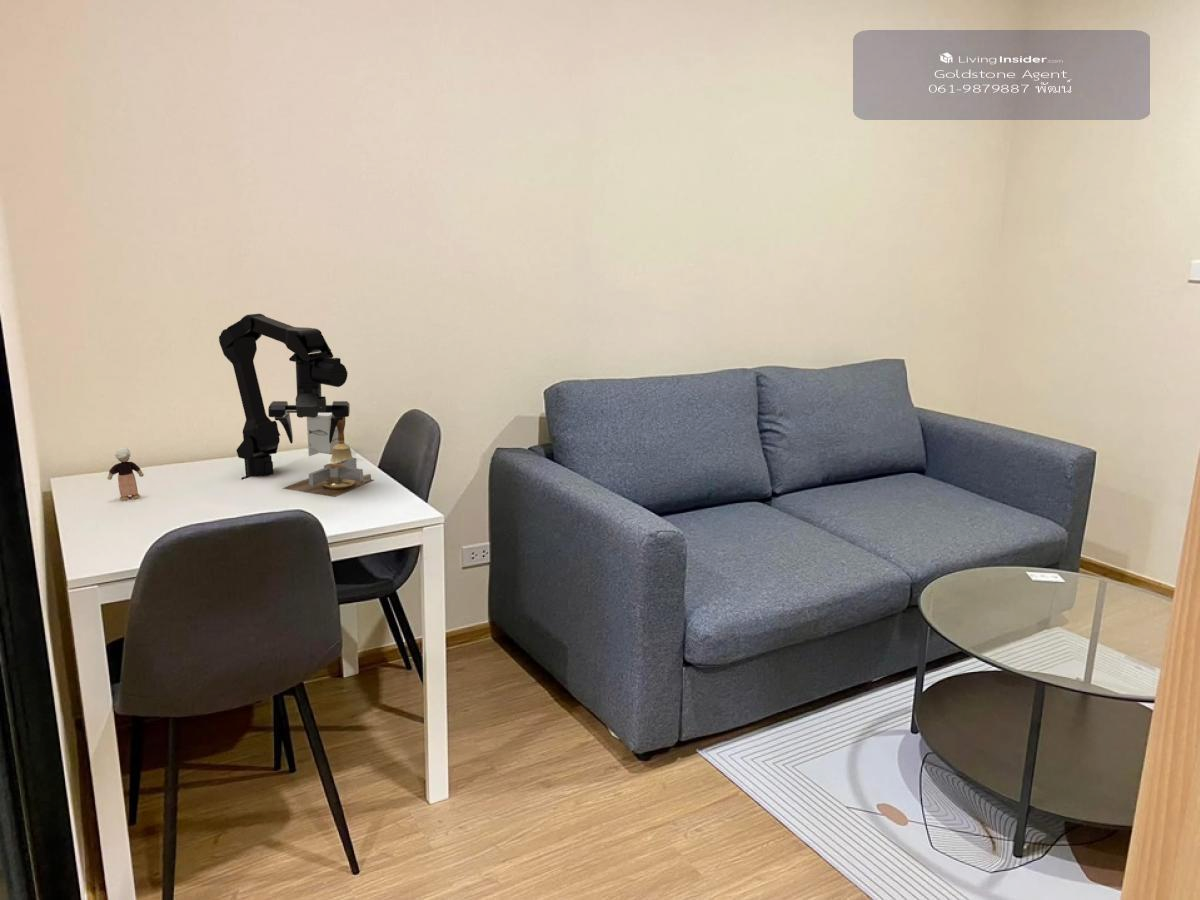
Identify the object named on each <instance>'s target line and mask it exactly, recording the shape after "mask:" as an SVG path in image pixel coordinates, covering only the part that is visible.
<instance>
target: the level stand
mask: <svg viewBox="0 0 1200 900" xmlns="http://www.w3.org/2000/svg"><path fill="white" fill-rule="evenodd" d="M371 474H372V473H371ZM371 474H370V473H368V474H365V475H364V474H363V480H362V481H355V485H354V486H352V487H349V488H344V489H328V488H324V487H323V486H322V482H321V483H318V484H316V485H309V477H308V478H306V479H302V480H300V481H298V482H295V483H292V484H290V485H288V486H284V487H282V490H283V489H284V490H290V491H296V492H301V493H302V492H303V493H310V494H313V495H320V496H326V497H333V498H336V497H338V496H341V495H343V494H346V493H348V492H350V491H352V490H355V489H357V488H360V487H361V486H364V485H367V484H370V483H371V482H374V481H375V479H372V475H371Z"/></svg>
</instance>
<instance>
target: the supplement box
mask: <svg viewBox="0 0 1200 900" xmlns="http://www.w3.org/2000/svg"><path fill="white" fill-rule="evenodd" d="M331 417H332V413H318V416H317V417H314V418H311V417H306V428H307V431H306V432H307V447H308V448H307V449H308V457H311V456H314V455H318V454H326V455H331V456H332V454H333V447H334V446H336V445H337V444H338V429H337V426H336V428H335V431H334V435H333V438H332V442H331V443H329V435H330V425H331Z"/></svg>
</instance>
